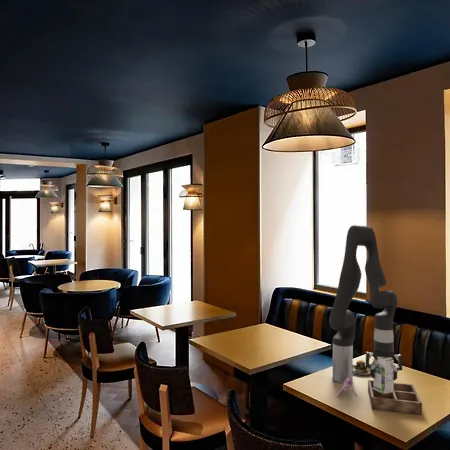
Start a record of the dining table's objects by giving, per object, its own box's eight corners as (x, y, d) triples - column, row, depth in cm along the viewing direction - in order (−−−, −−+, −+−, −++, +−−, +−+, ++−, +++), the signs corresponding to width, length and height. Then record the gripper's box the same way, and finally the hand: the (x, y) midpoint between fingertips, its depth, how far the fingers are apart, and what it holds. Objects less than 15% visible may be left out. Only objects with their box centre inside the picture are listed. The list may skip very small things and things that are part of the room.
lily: (350, 389, 180) (339, 370, 181) (371, 388, 172) (359, 368, 172) (336, 405, 172) (325, 386, 173) (358, 404, 164) (346, 383, 165)
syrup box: (372, 389, 164) (372, 354, 164) (384, 386, 166) (384, 352, 166) (383, 394, 159) (382, 358, 159) (394, 392, 161) (394, 356, 161)
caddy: (371, 409, 159) (371, 397, 159) (368, 390, 177) (368, 379, 177) (421, 415, 154) (421, 403, 154) (412, 395, 172) (412, 384, 172)
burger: (343, 372, 199) (343, 358, 198) (354, 366, 207) (354, 352, 207) (366, 379, 190) (366, 364, 190) (377, 372, 198) (377, 358, 198)
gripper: (366, 340, 161) (366, 380, 161) (404, 343, 157) (404, 384, 157) (364, 335, 168) (364, 373, 168) (400, 337, 164) (400, 377, 164)
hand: (383, 378), depth 163 cm, fingers closed on syrup box, 7 cm apart
